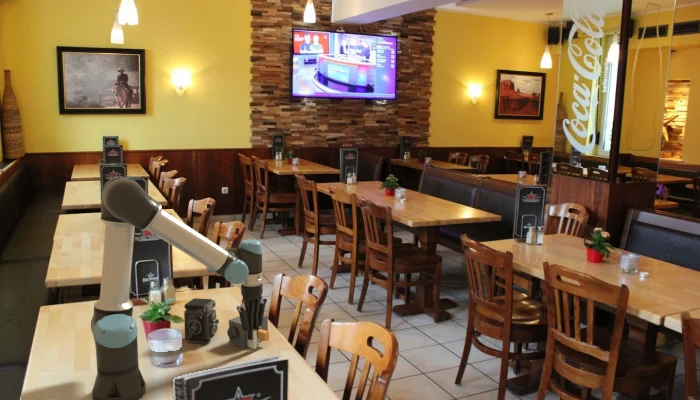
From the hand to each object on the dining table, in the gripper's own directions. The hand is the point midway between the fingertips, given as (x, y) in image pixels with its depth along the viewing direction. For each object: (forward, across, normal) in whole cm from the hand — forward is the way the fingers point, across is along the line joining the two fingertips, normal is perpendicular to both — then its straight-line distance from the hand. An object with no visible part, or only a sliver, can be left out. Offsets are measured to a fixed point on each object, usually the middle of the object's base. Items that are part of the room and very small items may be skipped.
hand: (252, 347), depth 212 cm
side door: (+1, +4, +1) cm, 4 cm away
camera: (+2, -4, +22) cm, 22 cm away
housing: (+2, +6, +8) cm, 10 cm away
